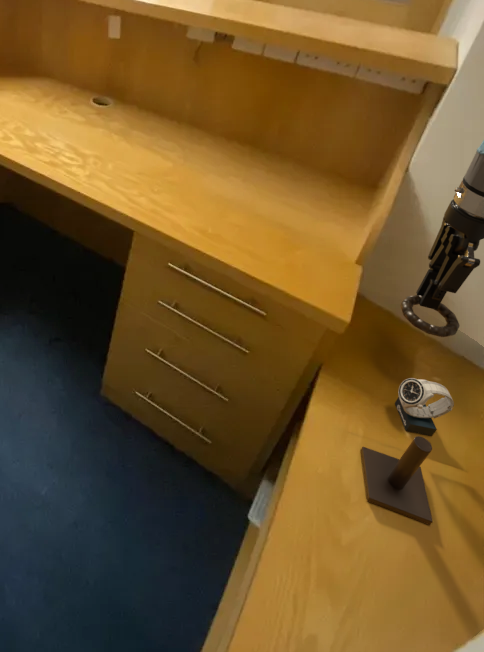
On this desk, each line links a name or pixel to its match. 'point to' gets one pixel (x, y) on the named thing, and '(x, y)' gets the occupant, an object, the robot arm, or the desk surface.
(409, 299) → the brown beaded bracelet ring
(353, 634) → the desk surface
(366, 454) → the stand
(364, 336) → the desk surface
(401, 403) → the watch
